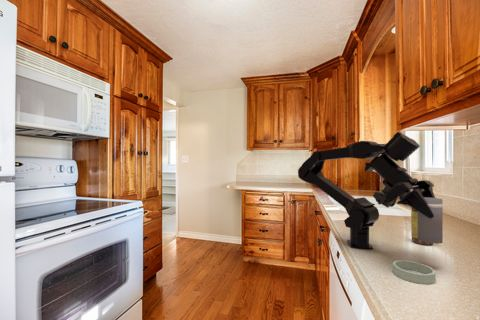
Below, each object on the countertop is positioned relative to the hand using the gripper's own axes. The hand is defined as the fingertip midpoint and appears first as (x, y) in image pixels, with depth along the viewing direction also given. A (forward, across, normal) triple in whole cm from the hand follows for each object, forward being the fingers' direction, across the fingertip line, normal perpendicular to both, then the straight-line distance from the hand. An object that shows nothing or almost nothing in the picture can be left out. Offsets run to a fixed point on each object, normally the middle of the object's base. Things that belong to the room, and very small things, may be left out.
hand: (436, 216), depth 63 cm
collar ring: (+8, +10, -11) cm, 17 cm away
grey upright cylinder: (+4, 0, -6) cm, 7 cm away
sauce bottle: (+3, -21, -17) cm, 27 cm away
